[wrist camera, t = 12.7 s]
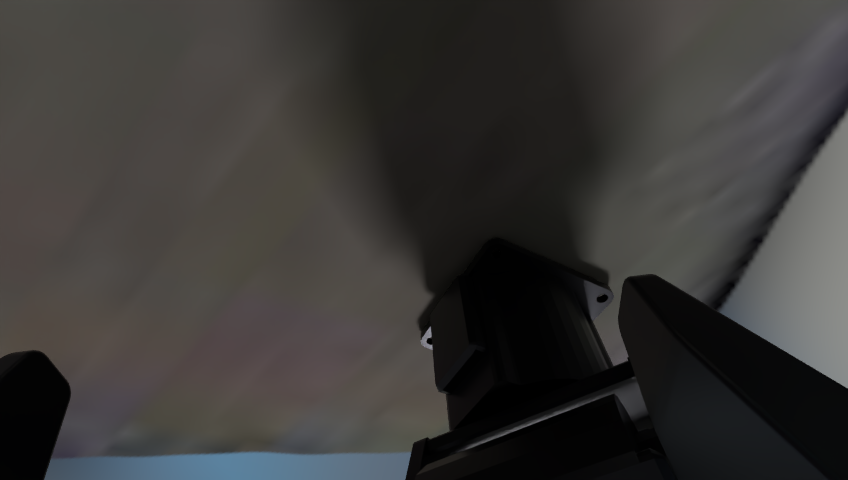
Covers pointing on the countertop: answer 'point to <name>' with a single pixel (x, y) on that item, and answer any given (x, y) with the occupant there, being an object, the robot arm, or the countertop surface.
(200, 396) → the countertop surface
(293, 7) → the countertop surface
